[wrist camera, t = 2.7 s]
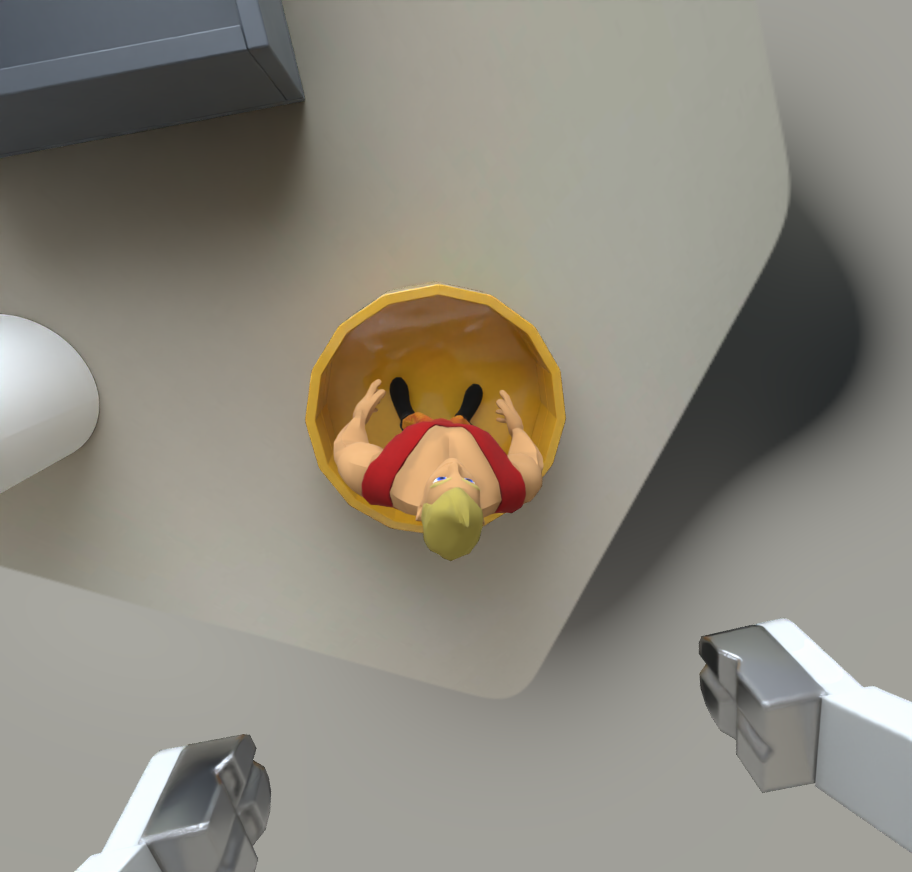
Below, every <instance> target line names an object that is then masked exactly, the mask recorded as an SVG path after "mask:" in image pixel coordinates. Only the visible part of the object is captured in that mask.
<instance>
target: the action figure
mask: <svg viewBox="0 0 912 872" xmlns="http://www.w3.org/2000/svg"><path fill="white" fill-rule="evenodd" d="M380 385H381V380H379V379H377V380H376V381H374V382H373V383H372V384H371V386H370V388H369V390H368V391H367V394H366V395H365V397H364V398H363V399H362V400H361V401H360V402H359V403H358V404H357V406H356V407H355V410H354V412H353V419H352V420H351V421H350V422H349V423H348V424H347V425H346V426H345V427H344V428H343V429H342V430H341V432H340V433H339V434H338V436H337V438H336V440H335V441H334V460H335V463H336V465H337V467H338V472H339V474H340V476H341V478H342V479H343V480H344V482H345V483H346V484H347V485H348V486H349V487H350V488H351V489H352V490H353V491H354V492H356V493H357V494H359V495H360V496H362V497H363V498H364V499H365V500H366V501H367V502H368V503H369V504H370V505H379V506H385V507H392V508H395V509H397V510H400V511H402V512H404V513H406V514H410V515H415V516H416V521H422V524H423V535H424V541H425V543H426V545H427V547H428V548H429V550H430V551H432V552H435V553H437V554H439V555H440V556H441V557H442V558H444V559H447V560H449V561H452V560H455V559H457V558H459V557H461V556H464V555H466V554H469V553H470V552H471V551H472V549H473V548H474V547H475V545H476V544H477V542H478V541H479V538H480V534H481V530H482V526H483V525H485V521H484V517H486V516H488V515H491V514H494V513H513V512H515V511H516V510H518V509H519V508H521V507H522V506H523V504H524V503H527V502H530V501H531V500H532V499H533V498H534V497H535V496H536V494H537V493H538V491H539V490H540V488H541V487H542V470H543V457H542V455H541V453H540V451H539V449H538V448H537V446H536V445H535V444H534V442H533V441H532V440H531V439H530V437H529V436H528V435H527V434H526V432H525V431H524V430H523V424H522V420H521V418H520V416H519V415H518V413H517V411H516V410H515V408H514V407H513V404H512V401H511V399H510V396H509V395H508V394H507V393H506V392H505V391H504V390H500V392H499V393H500V396H501V397H502V398H503V400H502V399H498V400H497V401H496V404H497V406H498V407H499V408H500V409H498V410H496V413H497V414H500V415H504V416H505V418H497V419H496V421H498V422H501V423H507V427H508V431H509V434H510V435H511V437H512V440H511V446H510V449H509V452H508V455H506V453H505V452H504V451H503V450H502V448H501V447H500V446H499V444H498V443H497V442H496V440H495V439H494V438H493V437H492V436H491V435H490V434H489V433H488V432H486V431H484V430H482V429H480V428H478V427H476V426H474V425H472V424H471V423H470V420H471V418H472V417H473V416H474V414H475V413H476V411H477V409H478V407H479V405H480V403H481V401H482V398H483V391H482V388H481V387H480V385H479V384H472V385H471V386H469V387H468V389H467V390H466V391H465V394H464V398H463V402H462V405H461V408H460V409H459V411H458V412H457V413H456V414H455V416H454V417H453V418H451V419H450V420H447V419H444V418H439V419H434V420H433V419H432V418H430V417H428V416H427V415H425V414H423V413H420V412H416V413H415V412H414V410H413V409H412V407H411V404H410V399H409V389H408V385H407V384H406V382H405V381H404V380H403V379H402V377H396V378H394V379H393V380H392V382H391V384H390V388H389V391H390V396H391V400H392V402H393V405H394V407H395V409H396V412H397V414H398V416H399V418H400V420H401V422H400V428H401V430H402V432H401V433H400V434H398V435H396V436H395V437H394V438H393V439H392V440H391V441H390V442H389V443H388V444H387V445H386V446H385V448H384V449H383V448H381V447H379V446H377V445H374V444H369V441H368V437H367V433H366V430H365V424H367V423H368V421H369V419H370V417H371V415H372V413H373V412H377V411H378V409H377V408H375V407H376V405H377V404H379V403H380V400H381V399H382V398H384V396H385V394H386V391H385V390H383V389H380V390H379V389H377V388H378V387H379V386H380Z"/></svg>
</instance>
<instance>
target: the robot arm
mask: <svg viewBox="0 0 912 872" xmlns="http://www.w3.org/2000/svg"><path fill="white" fill-rule="evenodd" d="M699 655H700V656H701V657H702V659H703V660H704V661H705V663H706V665H705V667H704V668H703V669H702V671H701V672H700V686H701V691H702V694H703V698H704V701H705V704H706V706H707V709H708V711H709V713H710V714H711V717H712V718H713V720H714V722H715V723H716V725H717V726H718V728H719V729H720V731H722V732H723V733H725V734H727V735H729V736H730V737H732V738H734V739H735V740H736V755H737V756H738V758H739V759H740V760H741V762H742V764H743V765H744V767H745V768H746V770H747V771H748V773H749V774H750V775H751V777H752V779H753V780H754V782H755V783H756V785H757V786H758V787H759V789H760V790H761V792H762V793H765V792H770V791H775V790H781V789H786V788H791V787H797V786H802V785H807V784H812V783H815V786H816V787H817V788H818V789H820V790H821V791H823V792H824V793H826V794H827V795H829V796H830V797H831V798H833V799H834V800H836V801H837V802H839V803H840V804H842V805H843V806H844V807H846V808H847V809H849V810H850V811H852V812H853V813H854V814H856V815H857V816H859V817H860V818H862V819H863V820H864V821H866V822H867V823H869V824H870V825H872V826H873V827H875V828H876V829H877V830H879V831H880V832H882V833H883V834H885V835H886V836H888V837H889V838H891V839H892V840H893V841H895V842H896V843H898V844H899V845H900V846H902V847H903V848H905V849H907V850H908V851H909V852H911V853H912V702H910V701H908V700H905V699H903V698H900V697H898V696H896V695H893V694H891V693H889V692H886V691H884V690H881V689H879V688H877V687H874V686H870V687H862V685H860V684H859V683H858V682H857V681H856V680H855V679H854V678H853V677H852V676H851V675H849V674H848V673H847V672H846V671H845V670H844V669H843V668H842V667H841V666H840V665H839V664H837V662H835V661H834V660H833V659H832V658H831V657H830V656H829V655H828V654H827V653H826V652H825V651H824V650H822V649H821V648H820V647H819V646H818V645H817V644H816V643H815V642H814V641H813V640H811V638H809V637H808V636H807V635H806V634H805V633H804V632H803V631H802V630H801V629H800V628H799V627H797V626H796V625H795V624H794V623H793V622H792V621H790V620H788V619H786V618H781V619H777V620H772V621H767V622H763V623H759V624H756V625H749V626H745V627H740V628H736V629H732V630H727V631H723V632H718V633H714V634H710V635H705V636H701V639H700V641H699ZM255 752H256V746H255V744H254V742H253V740H252V738H251V736H250V735H245V734H242V735H237V736H231V737H226V738H221V739H215V740H210V741H205V742H199V743H194V744H189V745H187V746H181V747H176V748H170V749H164V750H160V751H159V752H158V753H157V754H155V755H154V756H153V757H152V758H151V760H150V761H149V763H148V765H147V767H146V769H145V771H144V773H143V775H142V777H141V778H140V780H139V782H138V784H137V786H136V788H135V790H134V792H133V794H132V795H131V798H130V799H129V801H128V803H127V805H126V807H125V809H124V811H123V813H122V814H121V816H120V818H119V820H118V822H117V824H116V826H115V828H114V830H113V831H112V833H111V835H110V837H109V839H108V841H107V843H106V845H105V846H104V848H103V850H102V852H101V853H98V854H94V855H91V856H90V857H89V858H88V859H87V860H86V861H85V862H84V863H83V864H82V865H81V866H80V867H79V868H78V869H77V870H76V871H75V872H255V869H256V865H257V862H258V857H257V855H256V853H255V851H254V848H253V845H254V844H255V842H256V841H257V840H258V839H259V837H260V836H261V835H262V833H263V832H264V831H265V830H266V826H267V822H268V818H269V813H270V802H271V788H270V782H269V777H268V774H267V772H266V769H265V767H264V766H262V765H261V764H259V763H257V762H255V761H254V760H253V758H254V755H255Z"/></svg>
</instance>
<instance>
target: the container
mask: <svg viewBox="0 0 912 872" xmlns="http://www.w3.org/2000/svg"><path fill="white" fill-rule="evenodd" d="M301 101H305V96H304V92H303V88H302V84H301V80H300V76H299V71H298V67H297V63H296V59H295V55H294V51H293V47H292V42H291V38H290V34H289V30H288V26H287V22H286V18H285V14H284V9H283V5H282V1H281V0H0V158H3V157H8V156H13V155H19V154H24V153H29V152H35V151H40V150H45V149H51V148H56V147H61V146H67V145H72V144H77V143H83V142H88V141H93V140H99V139H104V138H109V137H115V136H120V135H125V134H131V133H136V132H141V131H147V130H152V129H157V128H163V127H168V126H173V125H179V124H184V123H189V122H195V121H200V120H205V119H211V118H216V117H221V116H227V115H232V114H237V113H243V112H248V111H253V110H259V109H264V108H269V107H275V106H280V105H285V104H291V103H296V102H301Z"/></svg>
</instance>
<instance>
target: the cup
mask: <svg viewBox="0 0 912 872" xmlns="http://www.w3.org/2000/svg"><path fill="white" fill-rule="evenodd" d="M98 415H99V396H98V391H97V387H96V383H95V381H94V378H93V376H92V374H91V372H90V370H89V368H88V366H87V365H86V363H85V362H84V360H83V359H82V358H81V356H80V355H79V354H78V353H77V351H76V350H75V349H74V348H73V347H72V346H71V345H70V344H69V343H68V342H66V341H65V340H64V339H63V338H62V337H60V336H59V335H57V334H56V333H55V332H53V331H51V330H50V329H48V328H46V327H44V326H42V325H40V324H38V323H36V322H33V321H31V320H28V319H25V318H22V317H17V316H13V315H5V314H0V493H2V492H4V491H6V490H7V489H9V488H11V487H13V486H14V485H16V484H18V483H20V482H22V481H23V480H25V479H27V478H29V477H31V476H32V475H34V474H36V473H38V472H40V471H41V470H43V469H45V468H47V467H48V466H50V465H52V464H54V463H56V462H57V461H59V460H61V459H63V458H65V457H66V456H68V455H70V454H72V453H73V452H75V451H76V450H78V449H79V448H80V447H81V446H82V445H83V444H84V443H85V442H86V441H87V440H88V439H89V437H90V436H91V434H92V432H93V431H94V428H95V426H96V423H97V420H98Z"/></svg>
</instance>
